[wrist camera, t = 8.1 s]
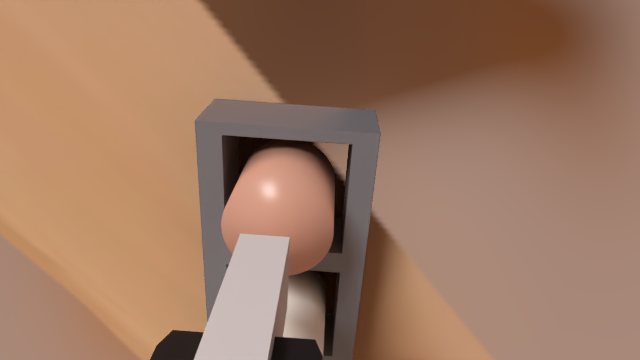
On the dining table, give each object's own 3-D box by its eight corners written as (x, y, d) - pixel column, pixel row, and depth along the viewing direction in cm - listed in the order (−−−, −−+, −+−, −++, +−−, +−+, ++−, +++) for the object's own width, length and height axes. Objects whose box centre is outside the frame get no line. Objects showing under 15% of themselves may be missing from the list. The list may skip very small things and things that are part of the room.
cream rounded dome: (244, 254, 22) (224, 313, 18) (328, 260, 22) (326, 321, 18) (245, 319, 23) (227, 385, 20) (323, 325, 23) (320, 392, 20)
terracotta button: (242, 134, 19) (219, 175, 15) (338, 141, 19) (337, 184, 15) (243, 217, 21) (223, 272, 17) (331, 224, 21) (329, 280, 17)
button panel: (214, 98, 20) (194, 120, 17) (375, 110, 20) (380, 134, 17) (226, 388, 28) (214, 434, 25) (342, 397, 28) (342, 445, 25)
